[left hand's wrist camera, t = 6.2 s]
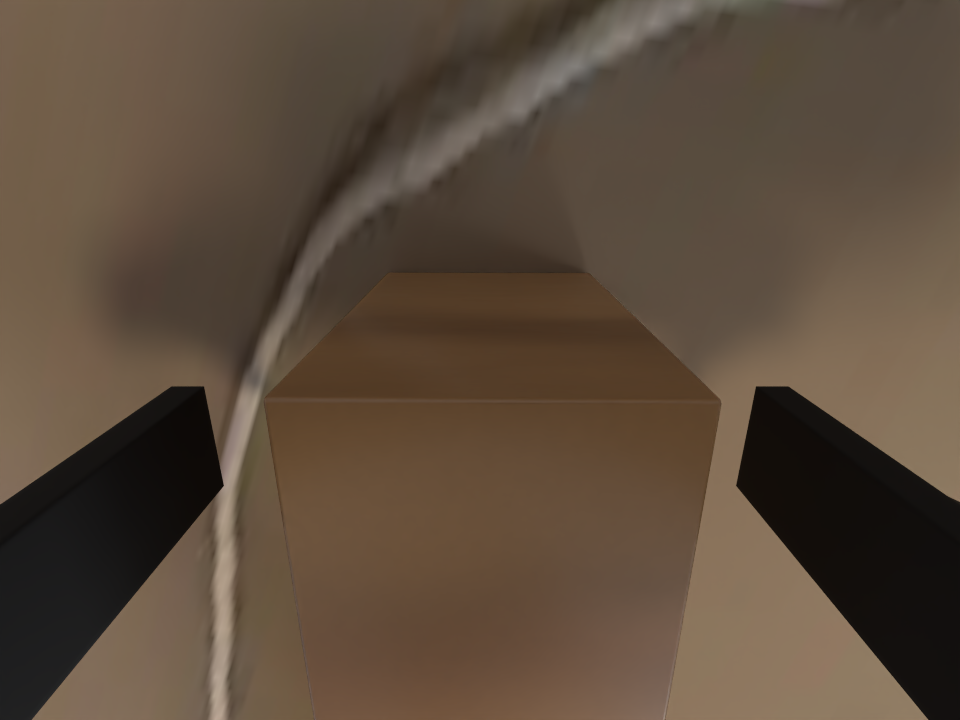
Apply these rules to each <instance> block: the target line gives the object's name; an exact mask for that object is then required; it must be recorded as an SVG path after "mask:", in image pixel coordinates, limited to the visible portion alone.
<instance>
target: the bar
mask: <svg viewBox="0 0 960 720" xmlns="http://www.w3.org/2000/svg"><path fill="white" fill-rule="evenodd" d="M264 406H265V412H266V419H267V425H268V431H269V437H270V444H271V450H272V456H273V463H274V469H275V475H276V482H277V488H278V494H279V500H280V507H281V513H282V519H283V526H284V532H285V538H286V544H287V551H288V557H289V563H290V570H291V576H292V582H293V589H294V595H295V601H296V607H297V614H298V620H299V626H300V633H301V639H302V645H303V652H304V658H305V664H306V670H307V677H308V683H309V689H310V696H311V702H312V708H313V715H314V720H665V719H666V713H667V707H668V702H669V696H670V690H671V685H672V679H673V673H674V668H675V662H676V657H677V651H678V645H679V640H680V634H681V628H682V623H683V617H684V612H685V606H686V600H687V595H688V589H689V583H690V578H691V572H692V566H693V561H694V555H695V550H696V544H697V538H698V533H699V527H700V521H701V516H702V510H703V505H704V499H705V493H706V488H707V482H708V476H709V471H710V465H711V459H712V454H713V448H714V443H715V437H716V431H717V426H718V420H719V414H720V409H721V401H720V399H719V398H718V397H717V396H716V395H715V394H714V393H713V392H712V391H711V390H710V389H709V388H708V387H707V386H706V385H705V384H704V383H703V382H702V381H701V380H700V379H698V378H697V377H696V376H695V375H694V374H693V373H692V372H691V371H690V370H689V369H688V368H687V367H686V366H685V365H684V364H683V363H682V362H681V361H680V360H679V359H678V358H677V357H676V356H675V355H674V354H673V353H671V352H670V351H669V350H668V349H667V348H666V347H665V346H664V345H663V344H662V343H661V342H660V341H659V340H658V339H657V338H656V337H655V336H654V335H653V334H652V333H651V332H650V331H649V330H648V329H647V328H646V327H644V326H643V325H642V324H641V323H640V322H639V321H638V320H637V319H636V318H635V317H634V316H633V315H632V314H631V313H630V312H629V311H628V310H627V309H626V308H625V307H624V306H623V305H622V304H621V303H620V302H619V301H617V300H616V299H615V298H614V297H613V296H612V295H611V294H610V293H609V292H608V291H607V290H606V289H605V288H604V287H603V286H602V285H601V284H600V283H599V282H598V281H597V280H596V279H595V278H594V277H593V276H592V275H590V274H589V273H387V274H386V275H385V276H384V277H383V278H382V279H381V280H380V282H379V283H378V284H377V285H376V286H375V287H374V288H373V289H372V290H371V291H370V292H369V293H368V294H367V295H366V296H365V297H364V298H363V299H362V300H361V301H360V302H359V303H358V304H357V305H356V306H355V307H354V308H353V309H352V310H351V311H350V312H349V313H348V314H347V315H346V316H345V317H344V318H343V319H342V320H341V321H340V322H339V323H338V324H337V325H336V326H335V327H334V328H333V329H332V330H331V331H330V332H329V333H328V334H327V335H326V336H325V337H324V338H323V339H322V340H321V341H320V342H319V343H318V344H317V345H316V346H315V347H314V348H313V349H312V350H311V351H310V352H309V353H308V354H307V355H306V356H305V357H304V358H303V359H302V360H301V361H300V362H299V363H298V364H297V365H296V366H295V367H294V369H293V370H292V371H291V372H290V373H289V374H288V375H287V376H286V377H285V378H284V379H283V380H282V381H281V382H280V383H279V384H278V385H277V386H276V387H275V388H274V389H273V390H272V391H271V392H270V393H269V394H268V395H267V396H266V397H265V399H264Z"/></svg>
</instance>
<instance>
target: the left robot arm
mask: <svg viewBox="0 0 960 720" xmlns="http://www.w3.org/2000/svg"><path fill="white" fill-rule="evenodd" d="M223 486H224V485H223V480H222V475H221V470H220V465H219V460H218V455H217V450H216V445H215V440H214V435H213V430H212V425H211V420H210V415H209V410H208V405H207V400H206V395H205V390H204V387H170V388H169V389H167V390H166V391H164V392H163V393H162V394H160V395H159V396H157V397H156V398H154V399H153V400H151V401H150V402H148V403H147V404H146V405H144V406H143V407H141V408H140V409H138V410H137V411H135V412H134V413H133V414H131V415H130V416H128V417H127V418H125V419H124V420H122V421H121V422H119V423H118V424H117V425H115V426H114V427H112V428H111V429H109V430H108V431H106V432H105V433H104V434H102V435H101V436H99V437H98V438H96V439H95V440H93V441H92V442H90V443H89V444H88V445H86V446H85V447H83V448H82V449H80V450H79V451H77V452H76V453H75V454H73V455H72V456H70V457H69V458H67V459H66V460H64V461H63V462H61V463H60V464H59V465H57V466H56V467H54V468H53V469H51V470H50V471H48V472H47V473H46V474H44V475H43V476H41V477H40V478H38V479H37V480H35V481H34V482H32V483H31V484H30V485H28V486H27V487H25V488H24V489H22V490H21V491H19V492H18V493H17V494H15V495H14V496H12V497H11V498H9V499H8V500H6V501H5V502H3V503H2V504H0V720H32V719H33V717H34V716H35V715H36V714H37V712H38V711H39V710H40V709H41V708H42V706H43V705H44V704H45V703H46V702H47V700H48V699H49V698H50V697H51V695H52V694H53V693H54V692H55V691H56V689H57V688H58V687H59V686H60V684H61V683H62V682H63V681H64V680H65V678H66V677H67V676H68V675H69V674H70V672H71V671H72V670H73V669H74V667H75V666H76V665H77V664H78V663H79V661H80V660H81V659H82V658H83V656H84V655H85V654H86V653H87V652H88V650H89V649H90V648H91V647H92V646H93V644H94V643H95V642H96V641H97V639H98V638H99V637H100V636H101V635H102V633H103V632H104V631H105V630H106V628H107V627H108V626H109V625H110V624H111V622H112V621H113V620H114V619H115V618H116V616H117V615H118V614H119V613H120V611H121V610H122V609H123V608H124V607H125V605H126V604H127V603H128V602H129V601H130V599H131V598H132V597H133V596H134V594H135V593H136V592H137V591H138V590H139V588H140V587H141V586H142V585H143V583H144V582H145V581H146V580H147V579H148V577H149V576H150V575H151V574H152V573H153V571H154V570H155V569H156V568H157V566H158V565H159V564H160V563H161V562H162V560H163V559H164V558H165V557H166V555H167V554H168V553H169V552H170V551H171V549H172V548H173V547H174V546H175V545H176V543H177V542H178V541H179V540H180V538H181V537H182V536H183V535H184V534H185V532H186V531H187V530H188V529H189V527H190V526H191V525H192V524H193V523H194V521H195V520H196V519H197V518H198V517H199V515H200V514H201V513H202V512H203V510H204V509H205V508H206V507H207V506H208V504H209V503H210V502H211V501H212V499H213V498H214V497H215V496H216V495H217V493H218V492H219V491H220V490H221V489H222V487H223ZM736 486H737V487H738V489H739V490H740V491H741V492H742V493H743V495H744V496H745V497H746V498H747V499H748V501H749V502H750V503H751V504H752V506H753V507H754V508H755V509H756V510H757V512H758V513H759V514H760V515H761V517H762V518H763V519H764V520H765V521H766V523H767V524H768V525H769V526H770V527H771V529H772V530H773V531H774V532H775V534H776V535H777V536H778V537H779V538H780V540H781V541H782V542H783V543H784V545H785V546H786V547H787V548H788V549H789V551H790V552H791V553H792V554H793V555H794V557H795V558H796V559H797V560H798V562H799V563H800V564H801V565H802V566H803V568H804V569H805V570H806V571H807V573H808V574H809V575H810V576H811V577H812V579H813V580H814V581H815V582H816V583H817V585H818V586H819V587H820V588H821V590H822V591H823V592H824V593H825V594H826V596H827V597H828V598H829V599H830V601H831V602H832V603H833V604H834V605H835V607H836V608H837V609H838V610H839V611H840V613H841V614H842V615H843V616H844V618H845V619H846V620H847V621H848V622H849V624H850V625H851V626H852V627H853V629H854V630H855V631H856V632H857V633H858V635H859V636H860V637H861V638H862V639H863V641H864V642H865V643H866V644H867V646H868V647H869V648H870V649H871V650H872V652H873V653H874V654H875V655H876V656H877V658H878V659H879V660H880V661H881V663H882V664H883V665H884V666H885V667H886V669H887V670H888V671H889V672H890V674H891V675H892V676H893V677H894V678H895V680H896V681H897V682H898V683H899V684H900V686H901V687H902V688H903V689H904V691H905V692H906V693H907V694H908V695H909V697H910V698H911V699H912V700H913V702H914V703H915V704H916V705H917V706H918V708H919V709H920V710H921V711H922V712H923V714H924V715H925V716H926V717H927V719H928V720H960V502H958V501H956V500H954V499H952V498H950V497H948V496H946V495H945V494H943V493H942V492H941V491H939V490H938V489H936V488H935V487H933V486H932V485H930V484H929V483H928V482H926V481H925V480H923V479H922V478H920V477H919V476H917V475H916V474H914V473H913V472H912V471H910V470H909V469H907V468H906V467H904V466H903V465H901V464H900V463H899V462H897V461H896V460H894V459H893V458H891V457H890V456H888V455H887V454H885V453H884V452H883V451H881V450H880V449H878V448H877V447H875V446H874V445H872V444H871V443H870V442H868V441H867V440H865V439H864V438H862V437H861V436H859V435H858V434H856V433H855V432H854V431H852V430H851V429H849V428H848V427H846V426H845V425H843V424H842V423H841V422H839V421H838V420H836V419H835V418H833V417H832V416H830V415H829V414H827V413H826V412H825V411H823V410H822V409H820V408H819V407H817V406H816V405H814V404H813V403H812V402H810V401H809V400H807V399H806V398H804V397H803V396H801V395H800V394H798V393H797V392H796V391H794V390H793V389H791V388H790V387H756V390H755V395H754V400H753V405H752V410H751V415H750V420H749V425H748V430H747V435H746V440H745V445H744V450H743V455H742V460H741V465H740V470H739V475H738V480H737V485H736Z"/></svg>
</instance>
